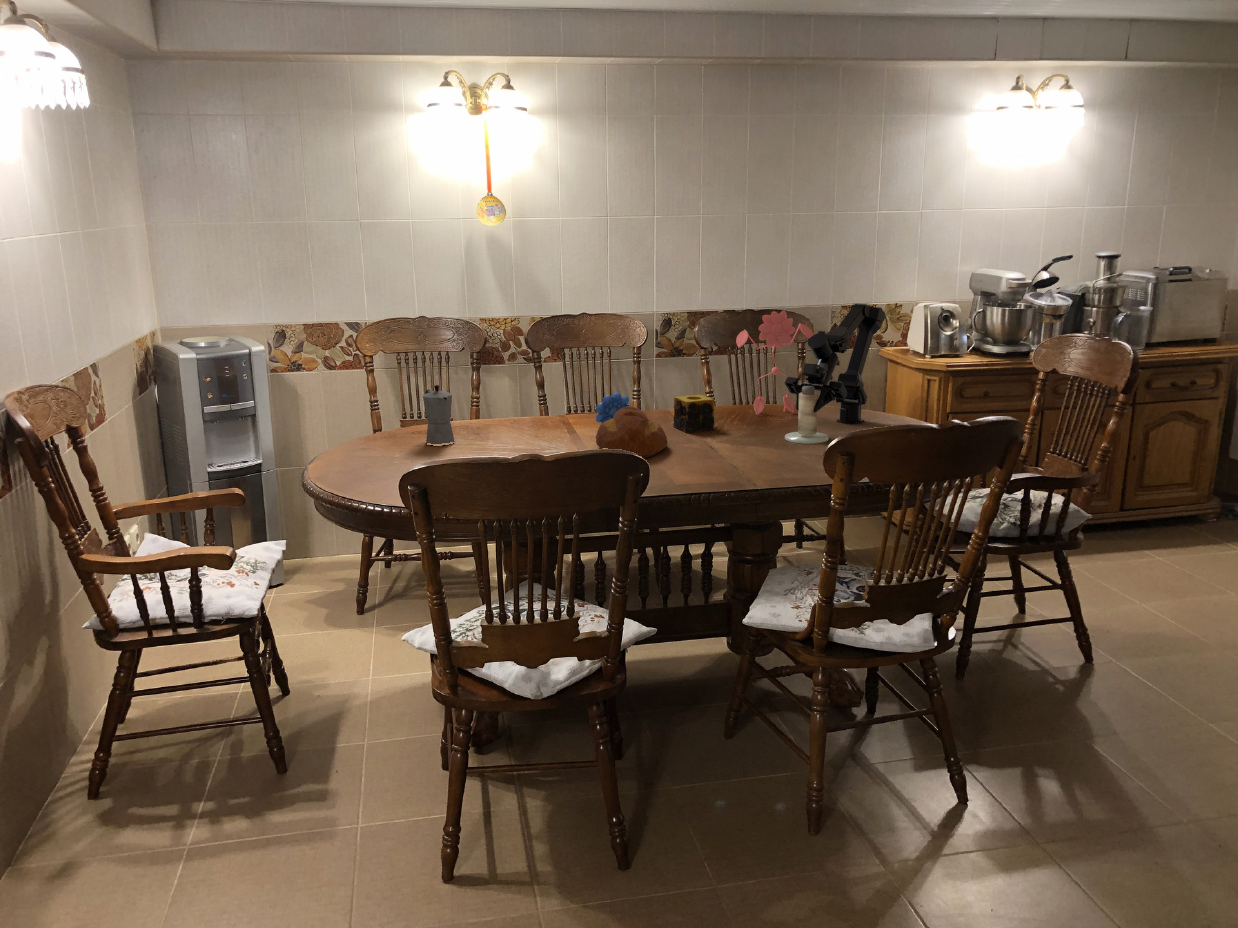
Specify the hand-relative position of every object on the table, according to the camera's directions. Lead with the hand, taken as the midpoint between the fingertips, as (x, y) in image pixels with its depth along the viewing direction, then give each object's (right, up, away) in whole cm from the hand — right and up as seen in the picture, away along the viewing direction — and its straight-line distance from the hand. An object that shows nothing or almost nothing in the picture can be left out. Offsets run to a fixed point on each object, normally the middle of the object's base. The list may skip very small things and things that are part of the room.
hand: (805, 410), depth 293 cm
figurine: (-3, 0, +36) cm, 36 cm away
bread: (-52, -12, -4) cm, 53 cm away
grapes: (-57, -5, +22) cm, 62 cm away
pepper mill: (+1, -7, +3) cm, 7 cm away
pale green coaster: (+1, -8, +3) cm, 9 cm away
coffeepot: (-111, -10, +8) cm, 112 cm away
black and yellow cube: (-32, -5, +20) cm, 38 cm away
